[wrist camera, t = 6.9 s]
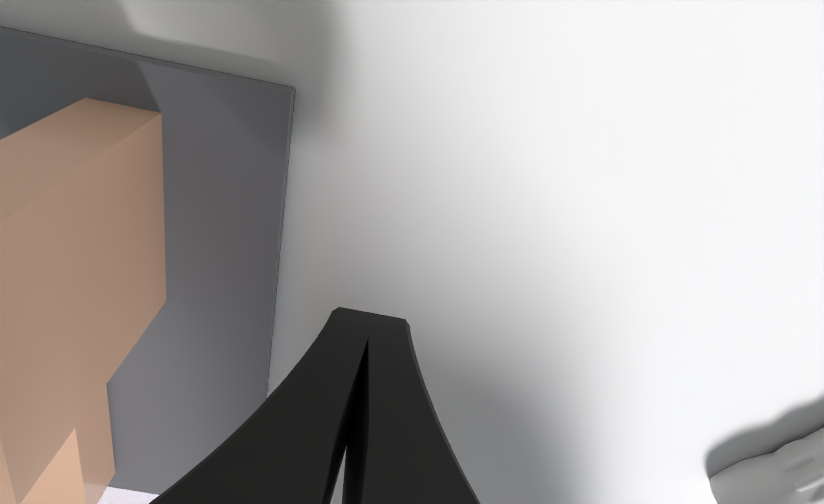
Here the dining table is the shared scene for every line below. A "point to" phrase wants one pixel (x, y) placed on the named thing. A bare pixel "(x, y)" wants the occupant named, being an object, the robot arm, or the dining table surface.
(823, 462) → the axe
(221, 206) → the mat
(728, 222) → the dining table surface
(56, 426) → the tile
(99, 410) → the tile
